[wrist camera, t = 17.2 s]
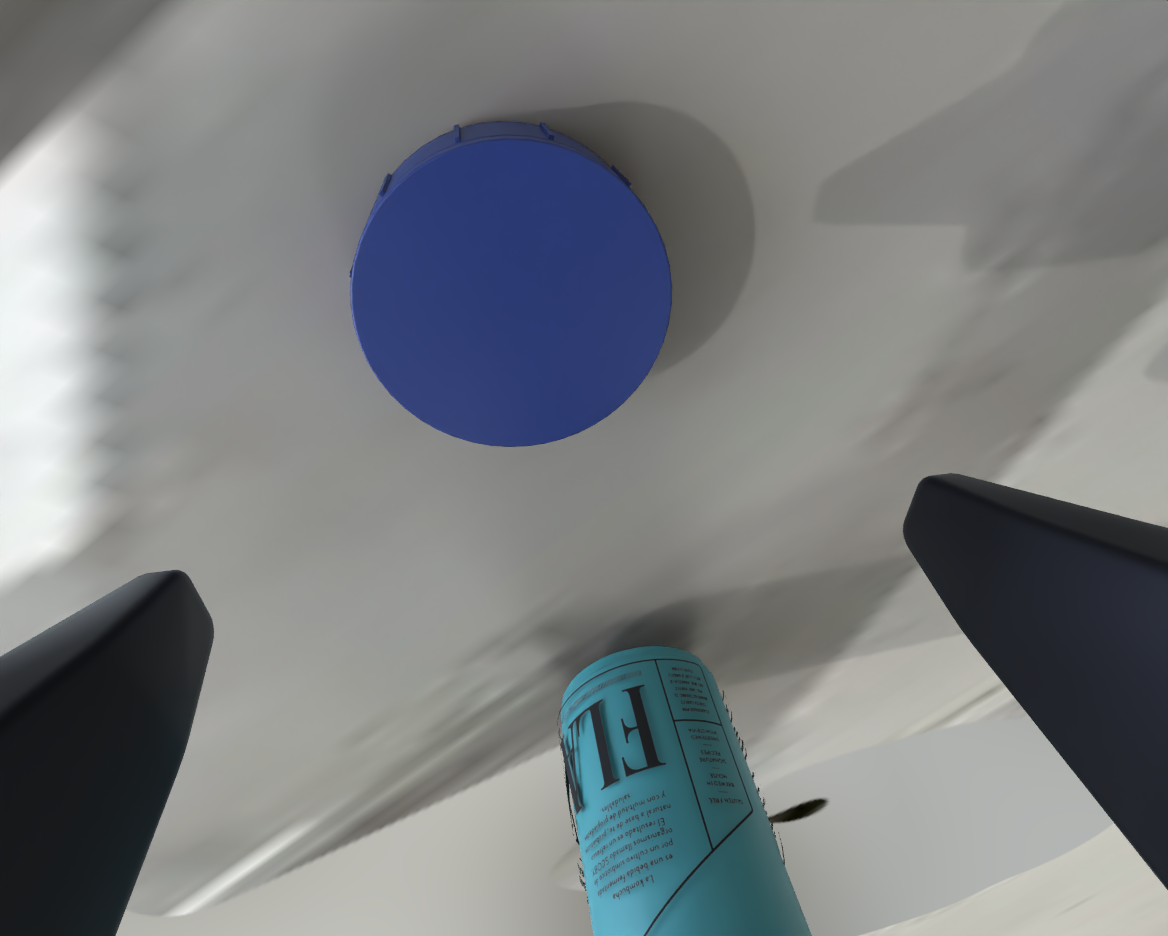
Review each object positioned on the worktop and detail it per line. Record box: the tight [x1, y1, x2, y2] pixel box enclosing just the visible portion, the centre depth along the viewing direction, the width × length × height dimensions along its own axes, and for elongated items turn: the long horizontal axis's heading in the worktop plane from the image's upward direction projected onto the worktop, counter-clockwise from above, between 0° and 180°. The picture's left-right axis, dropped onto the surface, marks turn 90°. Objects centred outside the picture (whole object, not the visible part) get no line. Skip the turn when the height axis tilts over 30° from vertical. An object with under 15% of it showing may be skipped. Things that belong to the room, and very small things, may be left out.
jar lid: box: [350, 121, 672, 447], centre depth 15 cm, size 7×7×2 cm
